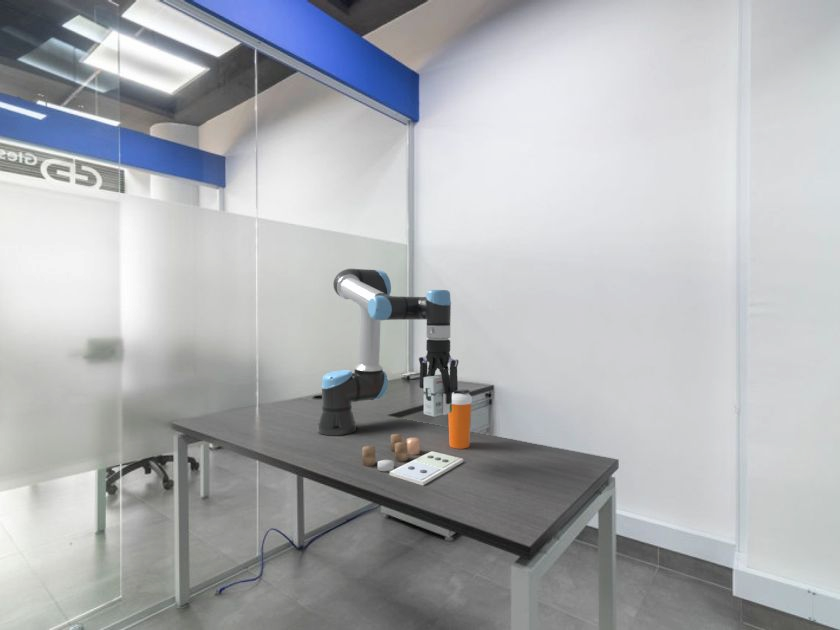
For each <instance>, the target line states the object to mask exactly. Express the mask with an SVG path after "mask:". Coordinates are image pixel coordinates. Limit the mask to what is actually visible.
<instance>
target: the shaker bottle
mask: <svg viewBox="0 0 840 630" xmlns="http://www.w3.org/2000/svg"><path fill="white" fill-rule="evenodd" d="M470 392H471V389H465V388H464V389H461V388H460V389H458V390H457V391H455V392H453V393H452V412H450V413H449V414H447V415H448V418H447V419H448V441H449V447H451V448H452V449H458V450H462V449H464V450H465V449H467V448H469V447H470V438H471V421H472V420H471V419H472V417H471V416H472V404H473V396H472V395H471V394H470Z"/></svg>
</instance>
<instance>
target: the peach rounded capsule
mask: <svg viewBox="0 0 840 630" xmlns="http://www.w3.org/2000/svg"><path fill="white" fill-rule="evenodd" d="M420 442H421V440H420V438H418V437H415V436H414V437H408V438H406V443H407V449H408V455H409V454H410V455H411V456H416V455H419V454H420V449H421V448H420V446H421V445H420V444H421V443H420ZM410 455H409V456H410Z"/></svg>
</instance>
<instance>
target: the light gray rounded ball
mask: <svg viewBox="0 0 840 630" xmlns="http://www.w3.org/2000/svg"><path fill="white" fill-rule="evenodd" d="M394 469H395V460H392V459H381V460H378V461H377V470H378V471H379V472H390V471H392V470H394Z"/></svg>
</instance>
